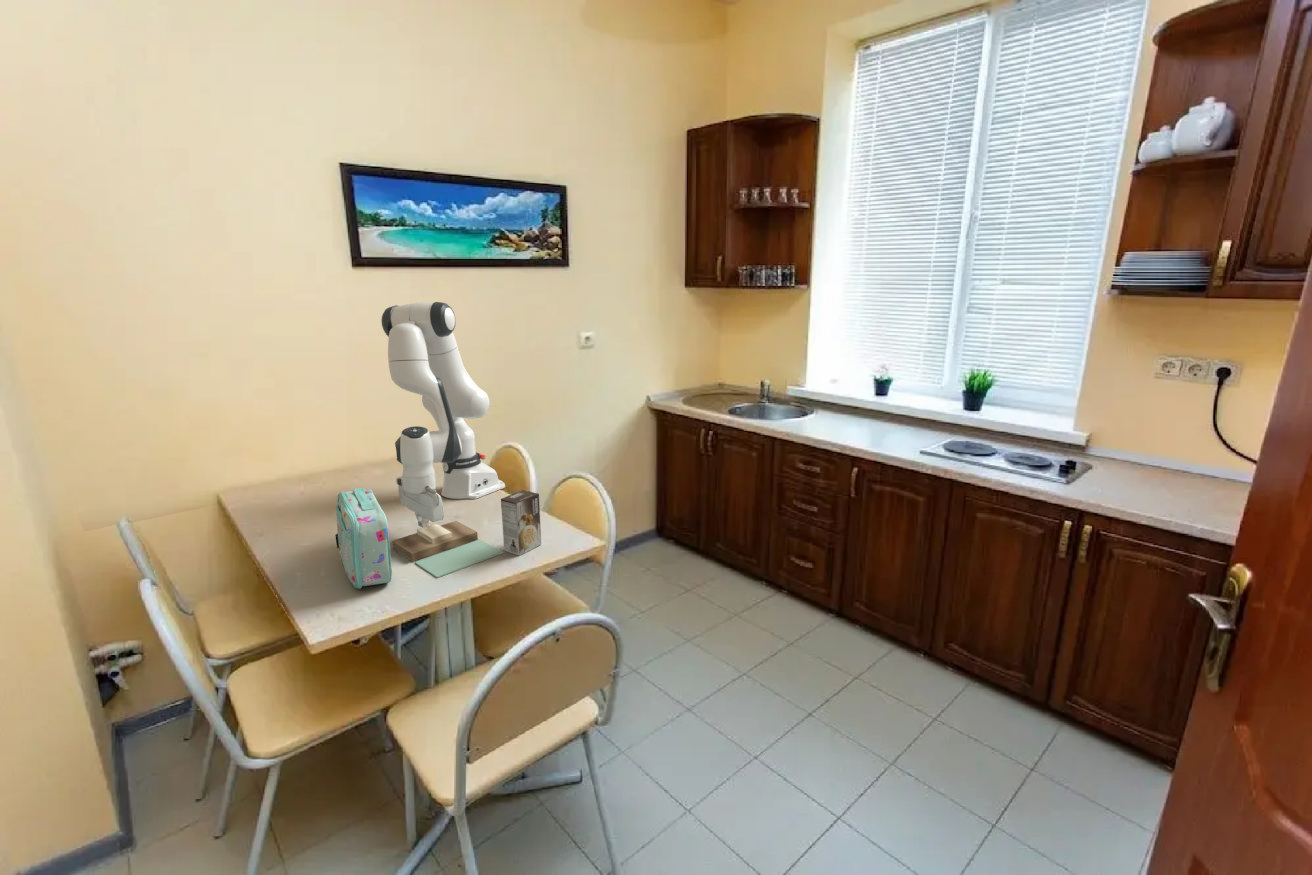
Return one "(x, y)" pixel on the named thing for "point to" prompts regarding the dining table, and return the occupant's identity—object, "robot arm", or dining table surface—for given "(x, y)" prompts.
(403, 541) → the walnut deck
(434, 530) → the birch tile
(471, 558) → the sage mat
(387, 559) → the lunch box
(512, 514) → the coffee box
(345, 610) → the dining table surface
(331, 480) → the dining table surface
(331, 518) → the dining table surface
